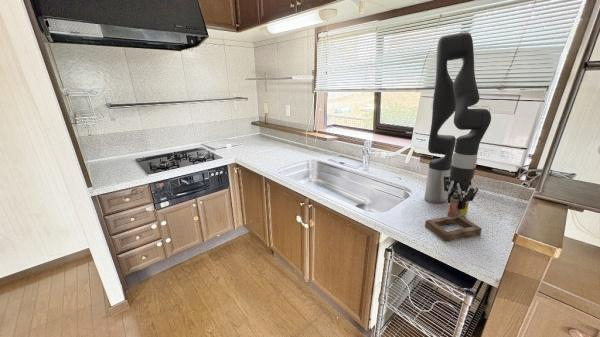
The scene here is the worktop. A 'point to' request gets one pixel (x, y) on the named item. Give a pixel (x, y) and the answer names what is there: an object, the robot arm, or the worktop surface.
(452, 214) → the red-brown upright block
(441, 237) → the slot block
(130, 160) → the worktop surface
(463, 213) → the supplement bottle
